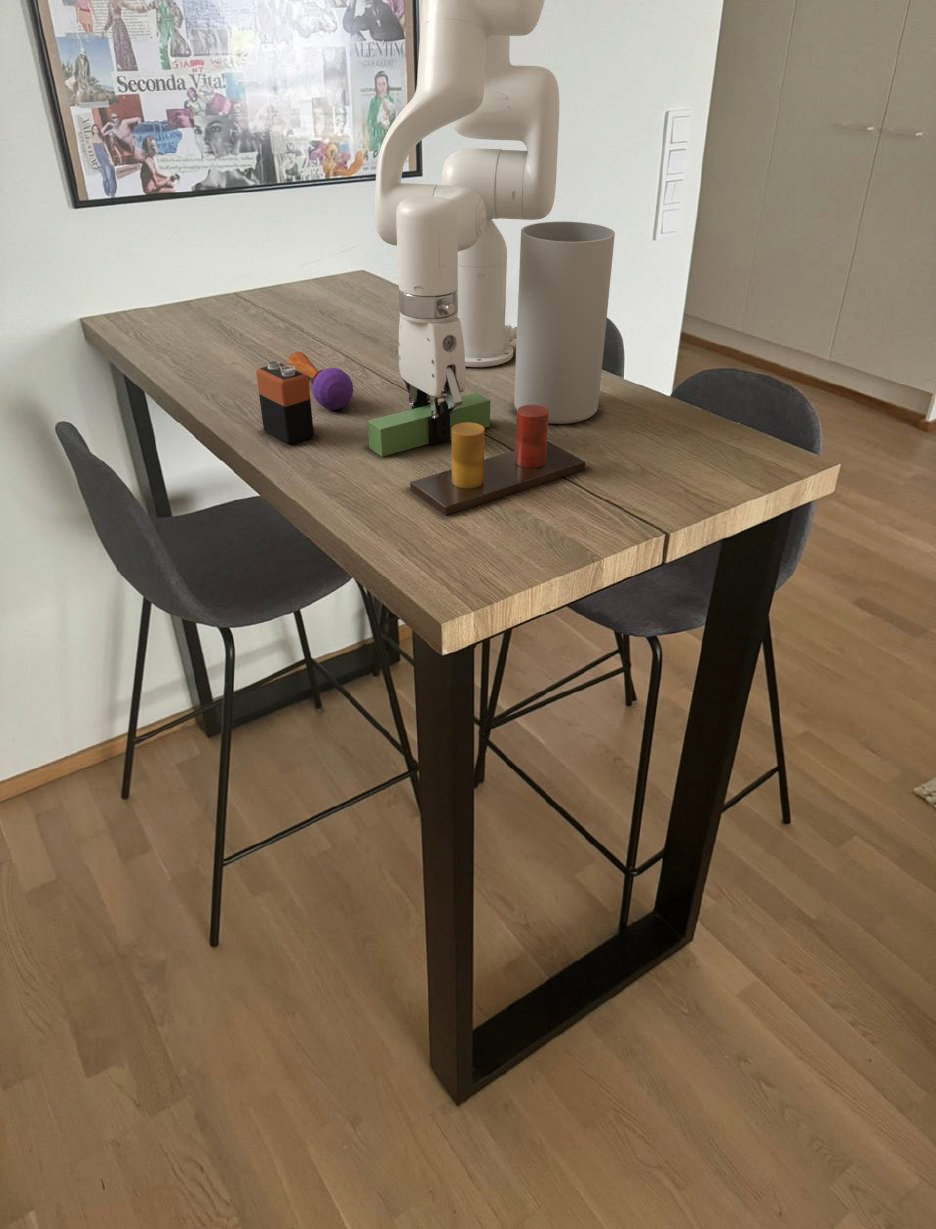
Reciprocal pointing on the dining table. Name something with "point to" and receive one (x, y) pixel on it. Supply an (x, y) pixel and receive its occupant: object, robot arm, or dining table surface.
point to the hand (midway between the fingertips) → (431, 435)
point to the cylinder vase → (562, 317)
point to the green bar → (421, 425)
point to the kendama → (325, 382)
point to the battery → (285, 402)
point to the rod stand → (496, 464)
